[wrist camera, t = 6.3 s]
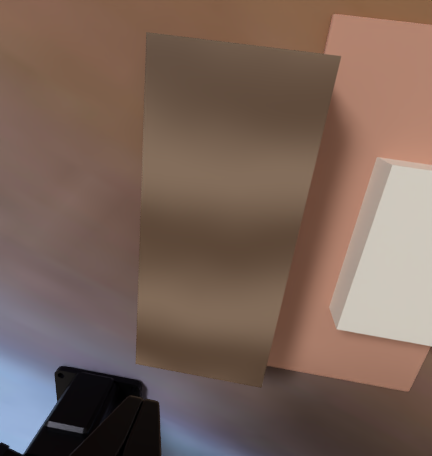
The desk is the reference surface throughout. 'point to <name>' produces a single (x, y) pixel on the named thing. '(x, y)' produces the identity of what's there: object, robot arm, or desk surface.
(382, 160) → the white flat block
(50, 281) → the desk surface
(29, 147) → the desk surface
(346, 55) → the mat
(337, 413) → the desk surface
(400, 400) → the desk surface
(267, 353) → the brown long block
